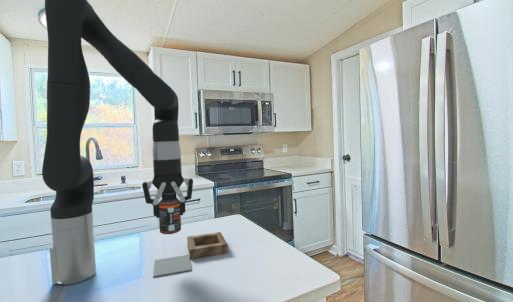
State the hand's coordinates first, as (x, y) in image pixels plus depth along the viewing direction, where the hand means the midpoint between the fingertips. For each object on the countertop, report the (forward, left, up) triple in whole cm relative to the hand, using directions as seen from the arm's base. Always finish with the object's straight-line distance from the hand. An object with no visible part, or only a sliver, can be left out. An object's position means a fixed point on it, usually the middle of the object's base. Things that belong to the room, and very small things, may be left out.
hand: (170, 215), depth 77 cm
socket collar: (+11, +8, -15) cm, 20 cm away
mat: (0, 0, -15) cm, 15 cm away
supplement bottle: (0, 0, -5) cm, 5 cm away
